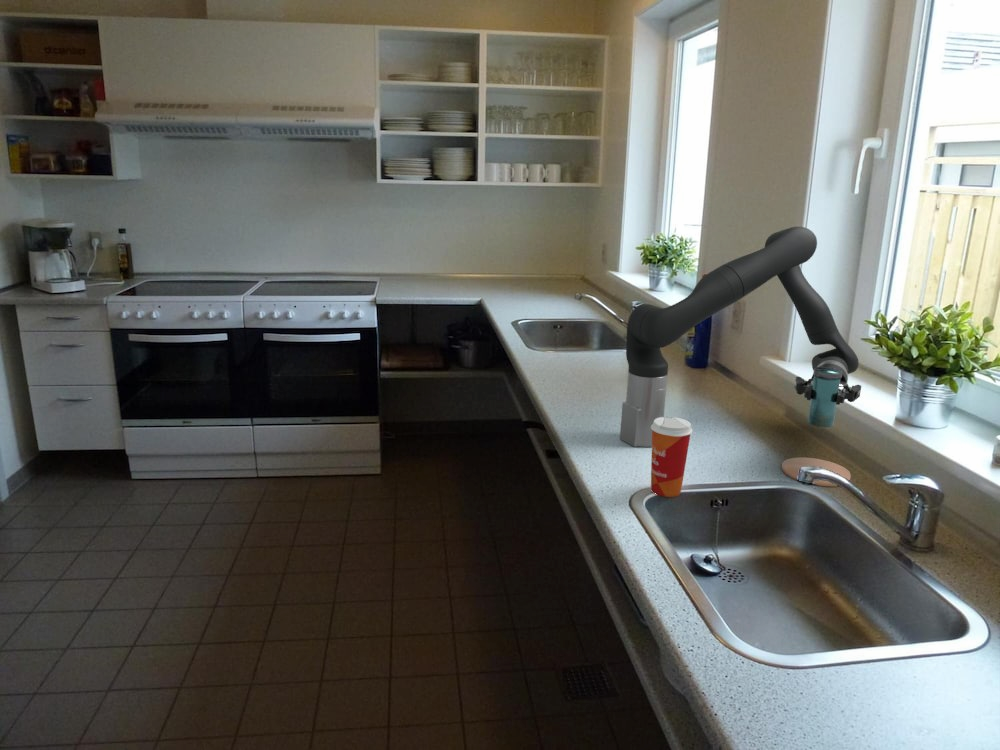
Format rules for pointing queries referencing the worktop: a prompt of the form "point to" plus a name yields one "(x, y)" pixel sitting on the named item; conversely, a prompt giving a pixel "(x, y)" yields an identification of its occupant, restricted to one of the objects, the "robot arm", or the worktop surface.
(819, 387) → the canister
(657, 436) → the coffee cup
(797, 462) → the dish
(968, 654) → the worktop surface
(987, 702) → the worktop surface
